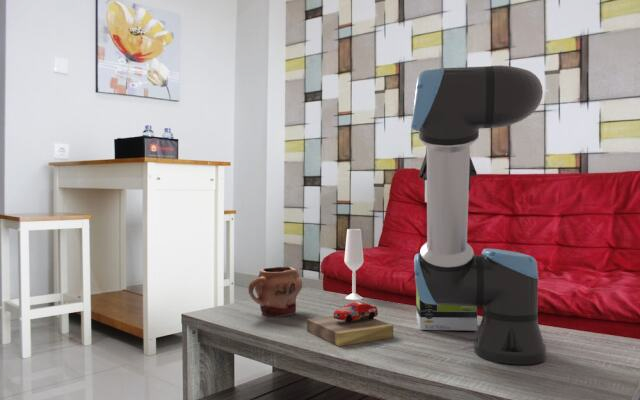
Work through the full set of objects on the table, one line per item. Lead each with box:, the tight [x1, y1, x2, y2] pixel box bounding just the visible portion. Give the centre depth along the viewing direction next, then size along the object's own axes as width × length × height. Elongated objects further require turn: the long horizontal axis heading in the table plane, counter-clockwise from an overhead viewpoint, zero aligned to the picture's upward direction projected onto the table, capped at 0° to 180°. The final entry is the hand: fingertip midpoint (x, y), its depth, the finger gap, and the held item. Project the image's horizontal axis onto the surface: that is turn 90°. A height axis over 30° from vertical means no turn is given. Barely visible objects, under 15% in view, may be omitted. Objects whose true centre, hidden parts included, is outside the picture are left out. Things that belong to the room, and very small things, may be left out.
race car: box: [332, 301, 379, 322], centre depth 133 cm, size 13×5×4 cm, turn 126°
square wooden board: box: [306, 315, 394, 347], centre depth 131 cm, size 16×16×3 cm
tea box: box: [415, 286, 478, 332], centre depth 139 cm, size 15×10×15 cm, turn 84°
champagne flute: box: [343, 228, 365, 301], centre depth 178 cm, size 7×7×24 cm
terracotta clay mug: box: [248, 266, 303, 318], centre depth 152 cm, size 20×12×14 cm, turn 143°
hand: (445, 202), depth 146 cm, fingers open, 13 cm apart
